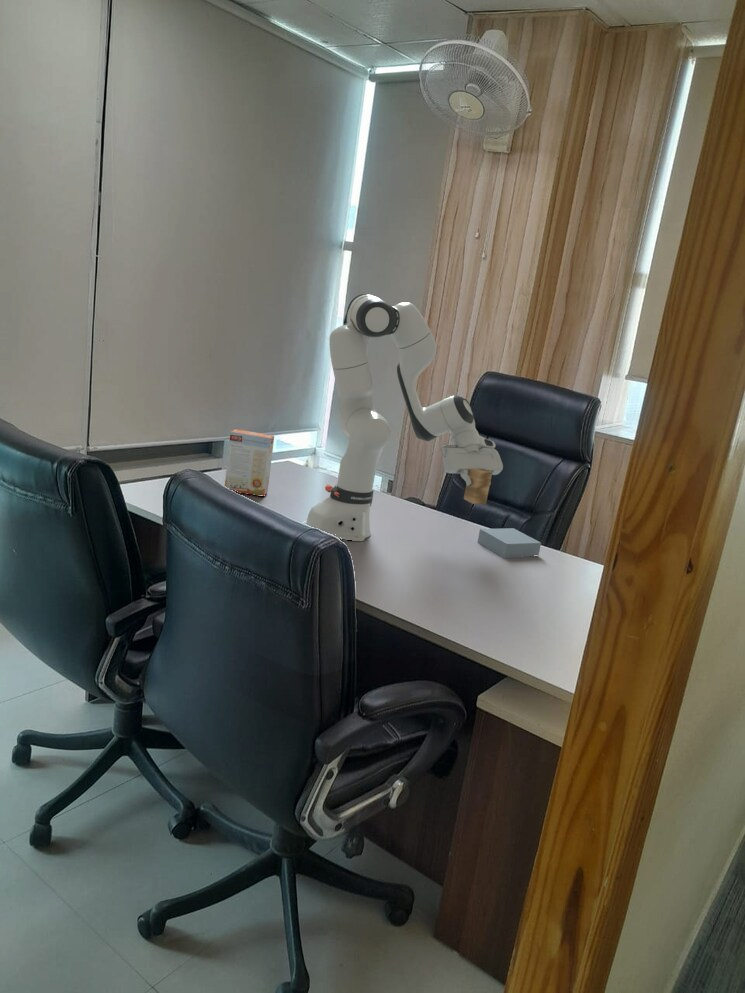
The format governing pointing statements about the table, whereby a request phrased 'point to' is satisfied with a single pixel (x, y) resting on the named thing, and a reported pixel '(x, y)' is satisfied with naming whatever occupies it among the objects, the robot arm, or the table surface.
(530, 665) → the table surface
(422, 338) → the robot arm
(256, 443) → the cracker box
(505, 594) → the table surface
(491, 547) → the grey base block
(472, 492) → the oak block
